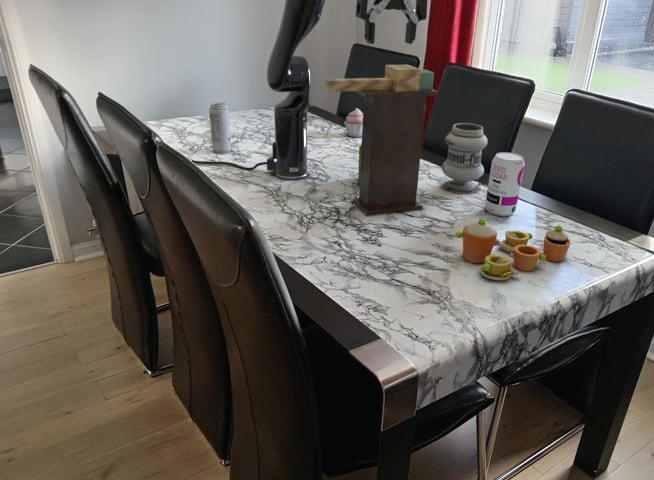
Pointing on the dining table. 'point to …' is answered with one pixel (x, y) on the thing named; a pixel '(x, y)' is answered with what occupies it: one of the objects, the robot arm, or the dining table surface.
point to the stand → (391, 150)
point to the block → (426, 80)
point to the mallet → (381, 81)
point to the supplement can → (504, 183)
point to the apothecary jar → (464, 157)
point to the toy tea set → (509, 249)
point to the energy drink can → (220, 127)
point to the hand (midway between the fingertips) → (389, 43)
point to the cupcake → (354, 123)
